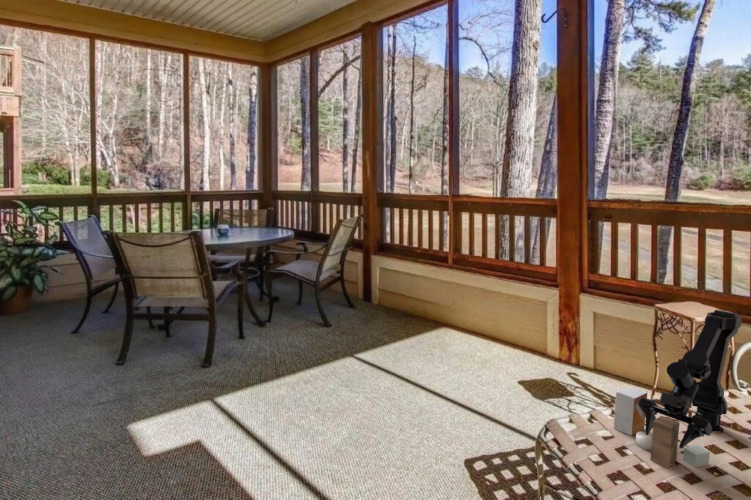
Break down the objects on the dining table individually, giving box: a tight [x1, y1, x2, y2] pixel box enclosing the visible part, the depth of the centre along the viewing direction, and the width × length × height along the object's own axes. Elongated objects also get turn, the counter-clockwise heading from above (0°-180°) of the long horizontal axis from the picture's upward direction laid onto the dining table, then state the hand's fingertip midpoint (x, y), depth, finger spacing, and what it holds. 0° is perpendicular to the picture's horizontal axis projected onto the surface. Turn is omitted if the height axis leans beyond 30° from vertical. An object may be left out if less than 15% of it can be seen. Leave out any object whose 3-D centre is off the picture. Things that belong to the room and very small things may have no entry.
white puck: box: [635, 430, 653, 451], centre depth 152 cm, size 6×6×3 cm
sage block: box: [682, 444, 710, 468], centre depth 143 cm, size 5×4×4 cm
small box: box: [613, 385, 648, 437], centre depth 161 cm, size 8×6×13 cm
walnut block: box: [649, 415, 681, 469], centre depth 143 cm, size 5×5×12 cm
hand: (662, 441), depth 142 cm, fingers open, 9 cm apart
